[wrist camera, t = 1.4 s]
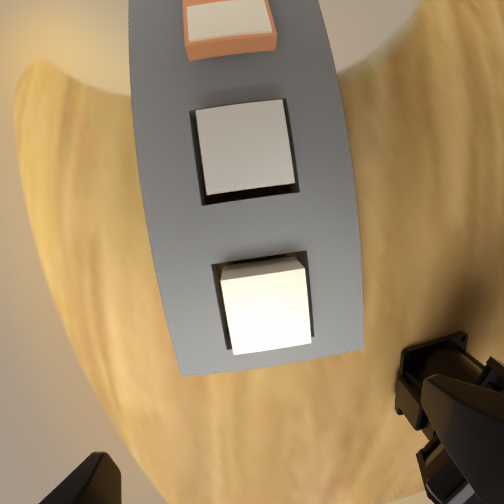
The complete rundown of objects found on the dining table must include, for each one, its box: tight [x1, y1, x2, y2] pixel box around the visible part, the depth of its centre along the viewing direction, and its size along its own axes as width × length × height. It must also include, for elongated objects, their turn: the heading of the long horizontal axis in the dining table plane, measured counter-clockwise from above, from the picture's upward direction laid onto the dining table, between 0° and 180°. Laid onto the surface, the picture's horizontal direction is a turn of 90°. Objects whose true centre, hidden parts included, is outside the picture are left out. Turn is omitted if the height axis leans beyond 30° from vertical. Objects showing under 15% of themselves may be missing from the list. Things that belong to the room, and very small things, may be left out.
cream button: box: [221, 256, 311, 355], centre depth 17 cm, size 4×4×3 cm
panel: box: [129, 0, 364, 377], centre depth 16 cm, size 11×24×4 cm, turn 8°
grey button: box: [196, 99, 295, 195], centre depth 15 cm, size 4×4×3 cm
